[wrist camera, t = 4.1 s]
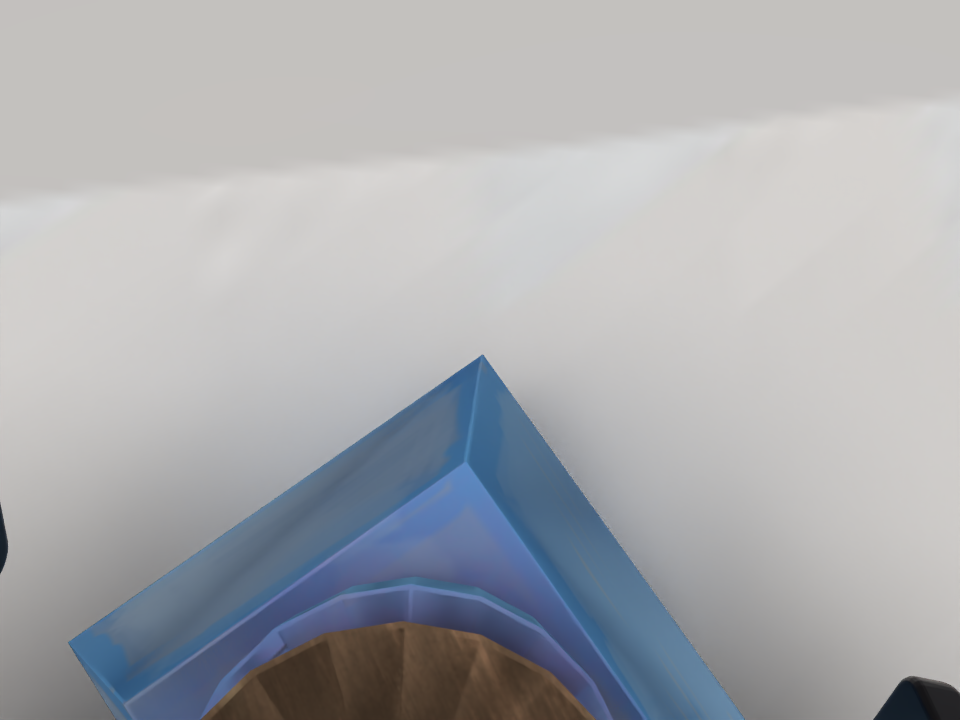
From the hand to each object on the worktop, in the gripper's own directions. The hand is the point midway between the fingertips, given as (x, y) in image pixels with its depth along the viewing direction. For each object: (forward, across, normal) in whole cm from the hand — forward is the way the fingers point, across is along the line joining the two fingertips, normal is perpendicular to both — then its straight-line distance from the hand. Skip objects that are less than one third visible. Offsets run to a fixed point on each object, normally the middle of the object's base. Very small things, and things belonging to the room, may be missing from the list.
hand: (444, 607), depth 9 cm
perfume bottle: (+5, 0, +7) cm, 9 cm away
